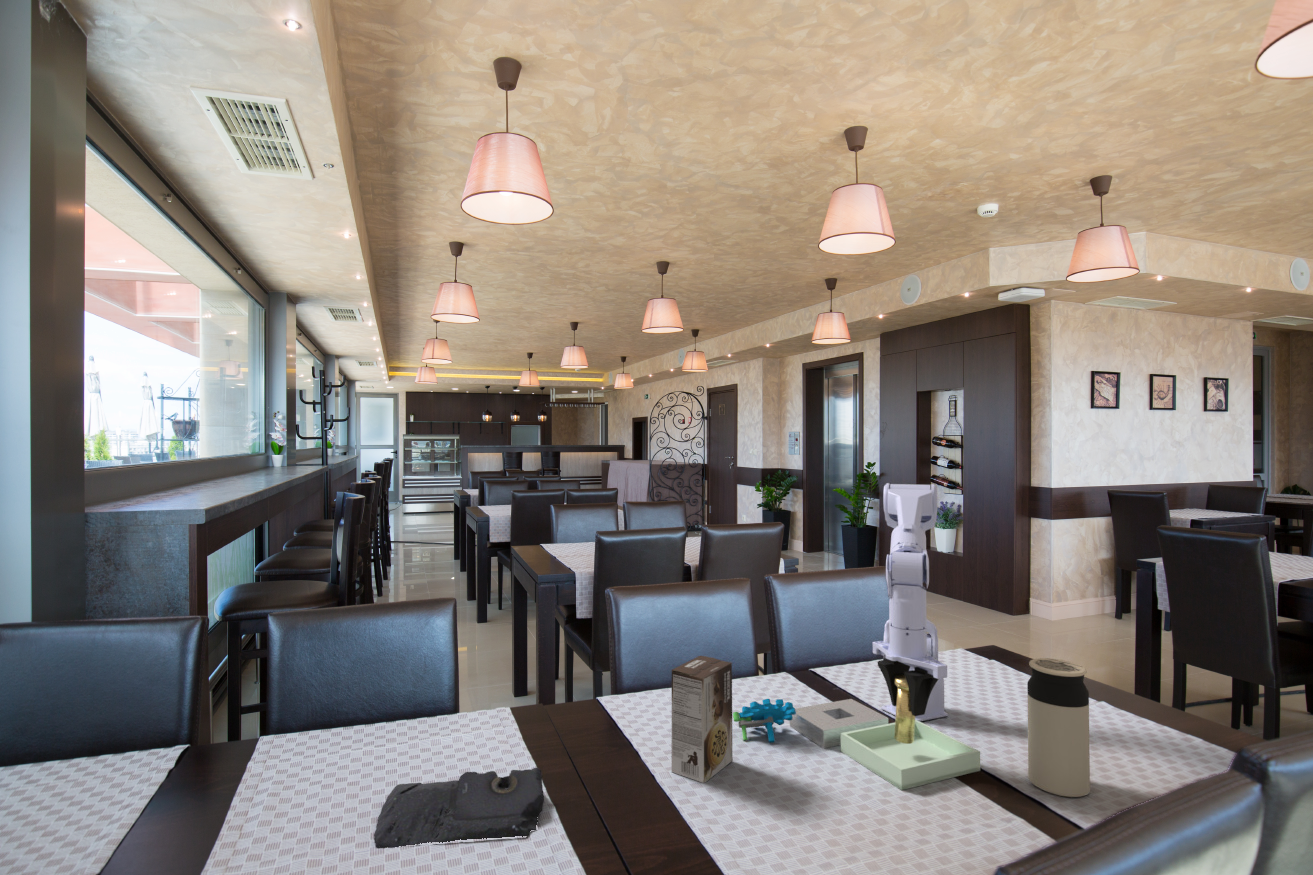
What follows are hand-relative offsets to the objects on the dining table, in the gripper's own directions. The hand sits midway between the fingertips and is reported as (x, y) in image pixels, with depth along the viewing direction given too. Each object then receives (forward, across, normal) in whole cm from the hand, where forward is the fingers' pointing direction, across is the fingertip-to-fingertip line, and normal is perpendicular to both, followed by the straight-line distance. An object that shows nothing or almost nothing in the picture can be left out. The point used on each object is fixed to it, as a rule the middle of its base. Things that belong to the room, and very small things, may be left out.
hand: (908, 709), depth 109 cm
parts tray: (+8, 0, 0) cm, 8 cm away
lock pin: (+5, -1, 0) cm, 5 cm away
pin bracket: (+8, -14, -3) cm, 16 cm away
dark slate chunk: (+9, -12, -69) cm, 70 cm away
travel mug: (+8, +15, +15) cm, 23 cm away
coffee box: (+8, -11, -32) cm, 35 cm away
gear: (+8, -18, -16) cm, 25 cm away
